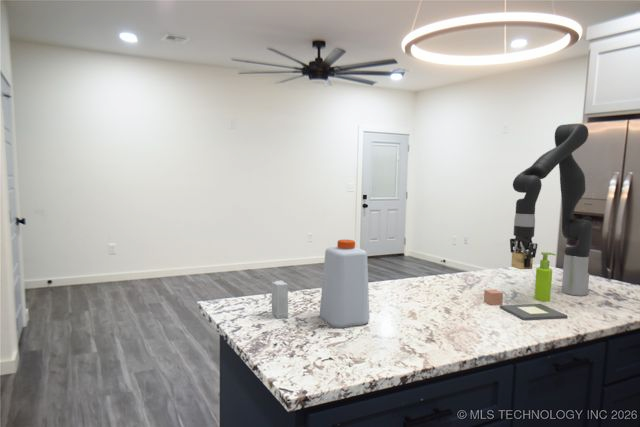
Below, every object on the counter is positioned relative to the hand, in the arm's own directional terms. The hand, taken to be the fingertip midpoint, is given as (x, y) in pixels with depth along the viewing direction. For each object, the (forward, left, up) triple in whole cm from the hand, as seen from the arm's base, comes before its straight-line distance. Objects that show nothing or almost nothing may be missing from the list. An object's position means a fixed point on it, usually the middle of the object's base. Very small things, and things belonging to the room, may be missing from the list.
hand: (521, 265), depth 168 cm
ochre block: (0, 0, -1) cm, 1 cm away
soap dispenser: (-13, -2, -15) cm, 20 cm away
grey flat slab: (+4, +13, -15) cm, 20 cm away
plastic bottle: (+77, +11, -15) cm, 79 cm away
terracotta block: (+12, 0, -15) cm, 20 cm away
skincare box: (+99, +4, -15) cm, 100 cm away
